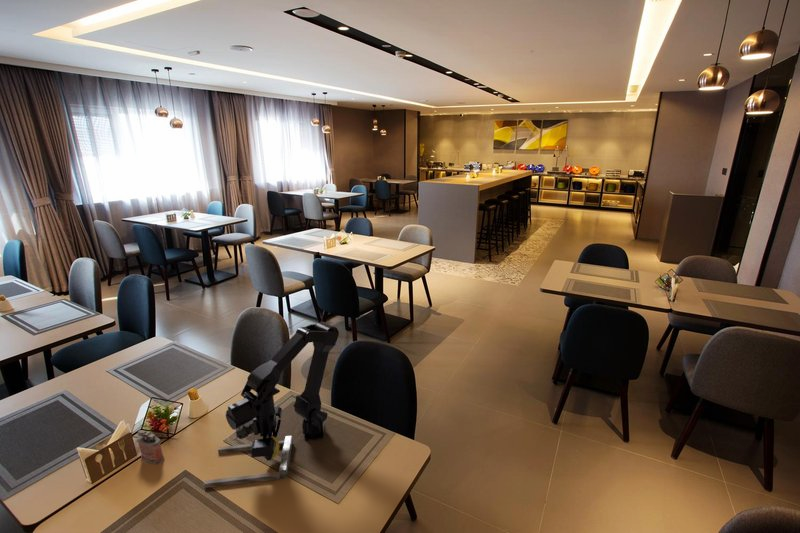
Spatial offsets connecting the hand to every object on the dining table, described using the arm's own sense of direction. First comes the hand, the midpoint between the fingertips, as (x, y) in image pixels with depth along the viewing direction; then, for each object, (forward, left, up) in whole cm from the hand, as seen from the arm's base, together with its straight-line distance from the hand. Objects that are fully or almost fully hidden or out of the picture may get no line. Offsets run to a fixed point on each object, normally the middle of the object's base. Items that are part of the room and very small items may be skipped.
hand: (270, 452), depth 120 cm
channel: (+6, 0, -3) cm, 7 cm away
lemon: (0, 0, -2) cm, 2 cm away
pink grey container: (+38, -7, -4) cm, 38 cm away
